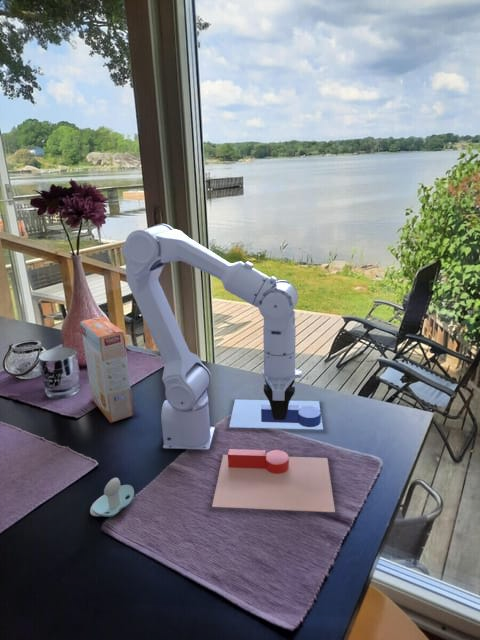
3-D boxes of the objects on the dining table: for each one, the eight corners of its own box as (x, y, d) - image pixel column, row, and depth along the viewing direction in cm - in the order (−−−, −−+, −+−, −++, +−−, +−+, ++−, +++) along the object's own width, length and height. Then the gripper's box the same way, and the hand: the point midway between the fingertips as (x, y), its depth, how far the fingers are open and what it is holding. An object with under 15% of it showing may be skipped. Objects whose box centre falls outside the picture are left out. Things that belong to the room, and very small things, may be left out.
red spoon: (227, 472, 81) (226, 459, 80) (230, 457, 85) (229, 444, 84) (288, 474, 79) (289, 461, 79) (288, 459, 84) (288, 446, 83)
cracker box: (135, 416, 101) (125, 330, 94) (110, 424, 98) (97, 337, 91) (115, 392, 112) (104, 314, 106) (91, 399, 109) (78, 320, 102)
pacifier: (82, 514, 73) (105, 528, 69) (75, 482, 71) (99, 496, 68) (116, 488, 78) (140, 500, 75) (111, 458, 77) (135, 469, 73)
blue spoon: (260, 425, 82) (260, 412, 82) (262, 413, 87) (262, 400, 86) (321, 427, 81) (321, 414, 80) (320, 415, 85) (320, 402, 84)
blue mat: (229, 429, 95) (228, 427, 95) (235, 401, 106) (234, 399, 106) (323, 432, 93) (323, 429, 93) (319, 403, 104) (319, 400, 104)
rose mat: (212, 509, 73) (211, 506, 73) (223, 456, 86) (223, 454, 86) (335, 515, 71) (335, 512, 70) (327, 460, 84) (327, 457, 84)
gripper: (302, 367, 72) (301, 438, 77) (300, 335, 86) (300, 397, 90) (259, 366, 73) (261, 436, 77) (264, 334, 86) (265, 396, 91)
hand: (279, 415), depth 84 cm, fingers closed on blue spoon, 2 cm apart
